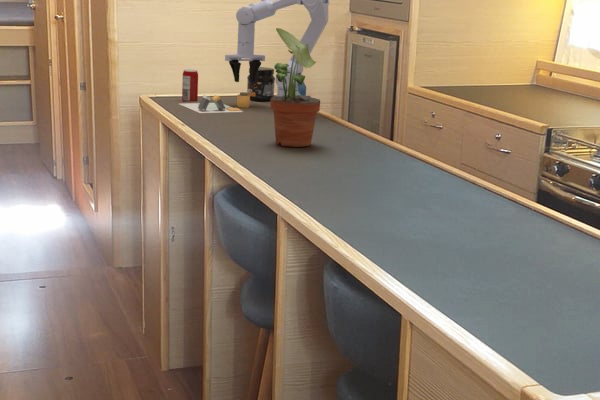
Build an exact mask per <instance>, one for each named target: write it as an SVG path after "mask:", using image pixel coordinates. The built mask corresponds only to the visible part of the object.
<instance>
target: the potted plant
mask: <svg viewBox="0 0 600 400" xmlns="http://www.w3.org/2000/svg"><path fill="white" fill-rule="evenodd" d="M275 29H276V32H277V34H278V36H279V37H280V39H281V40H282V41H283V43H284V44H285V45H286V47H287V48H288V50H287V51H288V53H290V54H291V55H293V54H294V55H295V57H296V59H297V61H298V62H299V63H300V65H302V66H303V68H305V69H308V68H310V69H311V68H312V67H313V66H314V65H315V64H316V63H317V61H315V60H314V59H313V58H312V56H311V54H310V55H309V51H308V44H307V45H305V46H304V44H302V43H301V42H300V41H301V40H299V39H298V38H296V37H295V35H293V34H291V33H290V32H289V31H287V30H285V29H282V28H279V27H278V28H275ZM297 61H296V64H297V71H298V62H297ZM293 62H294V56H293V61H292V66H291V71H290V72H288V71H287V67H288V66H289V65H288V64H287V63H282V62H277V63H275V65H274V68H273V69H274V70H275V73H276V75H275V78H277V79H278V81H279V82H282V80H283V90H284V96H277V95H275V96H274V97H271V100H270V101H269V102H270V109H271V110H272V111H273V121H274V123H273V124H274V135H275V143H276V144H277V146H278V145H280V146H282V147H296V148H299V147H308V146H311V145H312V140H313V134H314V129H315V124H316V119H317V114H318V113H319V112H320V109H321V99H320V98H315V97H312V96H311V95H306V96H304V95H295V90H296V81H297V83H298V84H301V85H302V83H303V82H304V81H305V78H306V76H305V75H303V74H301V75H297V71H296V76H295V75H294V73H295V68H296V64H295V67H294V71H293V75H292V69H293ZM287 73H290V78H289V86H288V95H287V81H286V78H285V77H286V76H287ZM291 78H292V81H291ZM284 80H285V83H284ZM293 80H294V83H293ZM285 84H286V89H285Z"/></svg>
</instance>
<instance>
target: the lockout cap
mask: <svg viewBox="0 0 600 400" xmlns="http://www.w3.org/2000/svg"><path fill="white" fill-rule="evenodd" d="M236 97H237V99H236V108H250V104H251V100H250V95H248V93H247V92H243V91H242V92H239V94H237V96H236Z"/></svg>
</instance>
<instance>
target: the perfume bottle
mask: <svg viewBox="0 0 600 400" xmlns="http://www.w3.org/2000/svg"><path fill="white" fill-rule="evenodd" d="M298 92H299V93H300V94H301V95H304V96H307V86H306V84H305V82H304V81H303V83H302V85H301V84H298Z"/></svg>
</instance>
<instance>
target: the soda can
mask: <svg viewBox="0 0 600 400" xmlns="http://www.w3.org/2000/svg"><path fill="white" fill-rule="evenodd" d="M181 85H182V87H181V88H182V90H181V91H182V92H181V93H182V95H181V98H182V99H181V101H182V102H184V103H191V102H192V103H193V102H194V103H198V94H199V93H198V91H199V72H198V69H183V72H182V84H181Z"/></svg>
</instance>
